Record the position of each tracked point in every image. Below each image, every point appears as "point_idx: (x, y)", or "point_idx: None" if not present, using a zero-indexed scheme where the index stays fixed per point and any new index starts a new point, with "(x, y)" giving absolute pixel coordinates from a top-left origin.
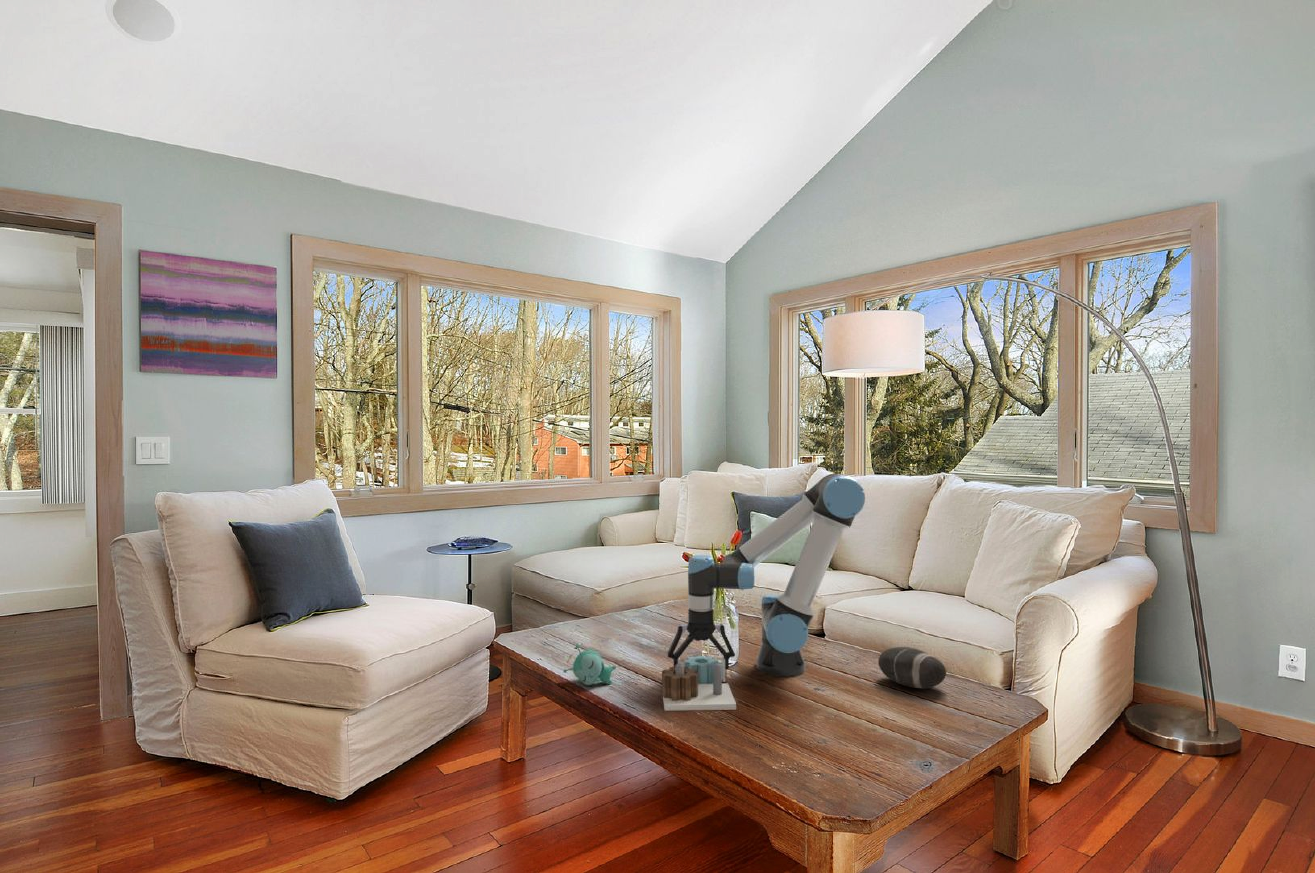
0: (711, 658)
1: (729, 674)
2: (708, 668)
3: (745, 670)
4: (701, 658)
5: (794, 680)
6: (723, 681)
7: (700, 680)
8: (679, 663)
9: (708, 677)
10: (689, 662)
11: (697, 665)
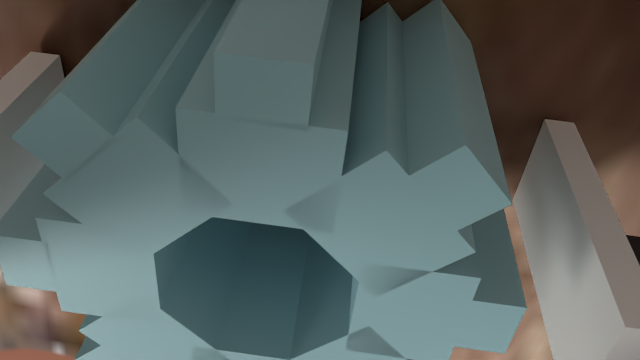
0: (101, 333)
1: None
2: (171, 91)
3: None
4: (240, 358)
5: None
6: (51, 55)
7: (332, 2)
8: (624, 285)
9: (210, 31)
10: (459, 275)
11: (353, 160)
